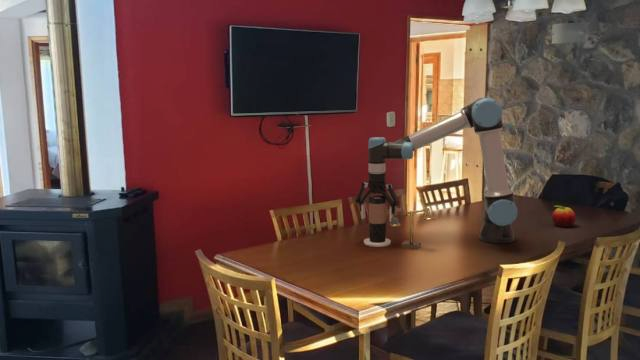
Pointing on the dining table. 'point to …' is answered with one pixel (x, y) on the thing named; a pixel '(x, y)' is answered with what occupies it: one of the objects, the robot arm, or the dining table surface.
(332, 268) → the dining table surface
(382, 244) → the cream round disc
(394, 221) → the balance
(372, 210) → the travel mug
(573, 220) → the fruit
